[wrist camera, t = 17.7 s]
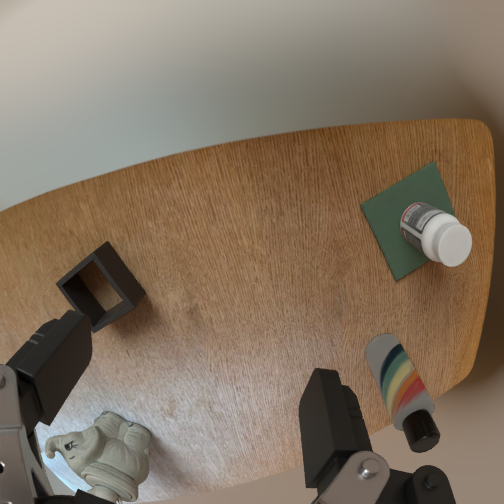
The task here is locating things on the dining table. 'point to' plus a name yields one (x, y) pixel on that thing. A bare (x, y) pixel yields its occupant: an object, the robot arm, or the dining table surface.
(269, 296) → the dining table surface
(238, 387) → the dining table surface
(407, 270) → the mat
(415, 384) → the lotion bottle
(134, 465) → the elephant cookie jar
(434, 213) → the pill bottle
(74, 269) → the holder
